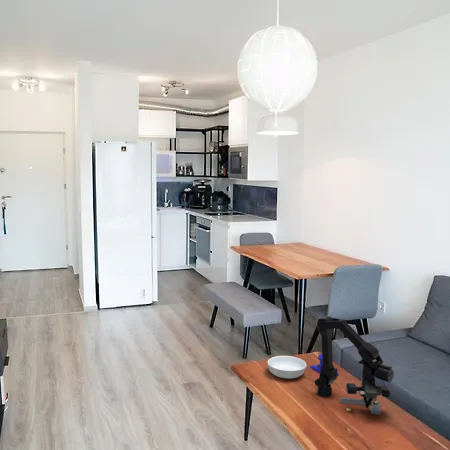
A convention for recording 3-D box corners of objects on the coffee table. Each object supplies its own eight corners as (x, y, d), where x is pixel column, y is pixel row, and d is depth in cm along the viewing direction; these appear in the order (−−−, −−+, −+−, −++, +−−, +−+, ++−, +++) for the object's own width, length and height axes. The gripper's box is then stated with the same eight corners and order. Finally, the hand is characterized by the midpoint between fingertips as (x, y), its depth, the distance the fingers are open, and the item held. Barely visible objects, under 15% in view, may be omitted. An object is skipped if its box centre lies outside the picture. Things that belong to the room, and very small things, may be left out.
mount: (338, 376, 252) (339, 360, 251) (328, 378, 248) (329, 362, 247) (320, 365, 265) (321, 351, 264) (310, 368, 261) (310, 353, 260)
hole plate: (343, 418, 207) (343, 410, 207) (339, 404, 220) (340, 397, 220) (384, 421, 205) (385, 414, 205) (378, 407, 218) (379, 400, 218)
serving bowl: (288, 364, 266) (289, 352, 265) (313, 378, 248) (314, 366, 247) (259, 371, 255) (259, 359, 254) (283, 386, 237) (283, 373, 236)
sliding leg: (371, 414, 209) (372, 403, 208) (368, 405, 217) (368, 394, 217) (380, 414, 209) (381, 403, 208) (376, 406, 217) (377, 395, 216)
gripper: (350, 380, 203) (348, 414, 204) (394, 384, 200) (392, 418, 202) (346, 370, 214) (344, 402, 215) (388, 373, 211) (386, 406, 213)
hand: (366, 407), depth 211 cm, fingers closed
